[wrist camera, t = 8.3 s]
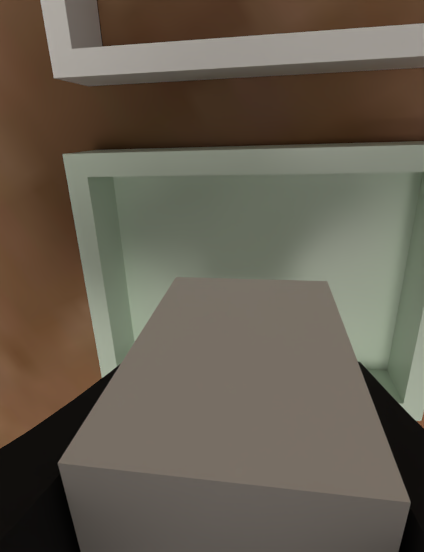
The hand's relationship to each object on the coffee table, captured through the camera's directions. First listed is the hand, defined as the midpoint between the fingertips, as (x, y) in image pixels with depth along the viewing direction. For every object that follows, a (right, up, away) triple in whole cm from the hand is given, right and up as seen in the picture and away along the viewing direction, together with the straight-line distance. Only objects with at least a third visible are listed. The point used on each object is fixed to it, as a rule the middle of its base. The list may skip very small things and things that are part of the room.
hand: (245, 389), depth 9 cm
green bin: (+1, +3, +7) cm, 8 cm away
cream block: (0, +1, +1) cm, 2 cm away
